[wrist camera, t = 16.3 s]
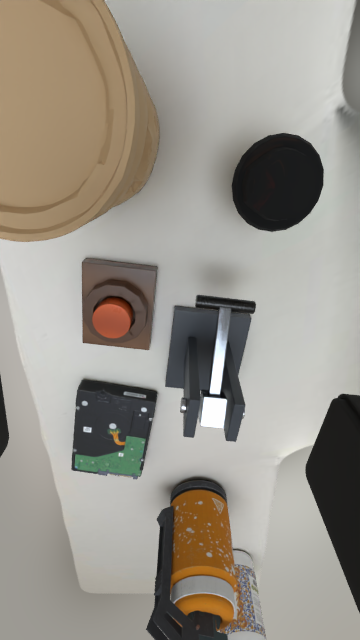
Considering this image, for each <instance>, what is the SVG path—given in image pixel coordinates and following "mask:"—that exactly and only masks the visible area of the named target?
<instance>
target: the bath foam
mask: <svg viewBox="0 0 360 640" xmlns="http://www.w3.org/2000/svg"><path fill="white" fill-rule="evenodd" d="M233 555H234V563H235V571H236V579H237V589H236V592H235V593H234V600H235V613H234V617H233V620H232V622H231V623H230V624H229V625H228V626H227V627H225V628H224V629H221V630H220V633H224V634H227V636H228V640H266V635H265V629H264V624H263V618H262V612H261V606H260V601H259V595H258V589H257V583H256V577H255V572H254V567H253V561H252V558H251V557H250V556H249V555H248V554H247V553H245V552H243V551H238V550H233Z"/></svg>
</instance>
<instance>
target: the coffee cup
mask: <svg viewBox="0 0 360 640" xmlns="http://www.w3.org/2000/svg"><path fill="white" fill-rule="evenodd" d="M323 173H324V169H323V166H322V163H321V159H320V156H319V154H318V153H317V151H316V150H315V149H314V147H313V146H312V145H311V143H309V142H308V141H306V140H304V139H303V138H301V137H300V136H298V135H292V134H287V133H280V134H275V135H269V136H267V137H265V138H263V139H261V140H260V141H258V142H256V143H254V144H253V145H252V146H251V147H250V148H249V149H248V150H247V151H246V153H245V154H244V155H243V156H242V158H241V160H240V162H239V163H238V165H237V167H236V169H235V173H234V177H233V182H232V193H233V201H234V203H235V206H236V208H237V211H238V213H239V214H240V215H241V217H242V218H243V219H244V220H245V221H246V222H247V223H248V224H250V225H252V226H253V227H255V228H257V229H259V230H265V231H271V232H273V231H279V230H286V229H288V228H290V227H292V226H294V225H296V224H298V223H299V222H301V221H302V220H303V219H304V218H305V217H306V216H307V215H308V214H310V212H311V211H312V209H313V208H314V206H315V205H316V203H317V202H318V200H319V197H320V194H321V190H322V187H323Z"/></svg>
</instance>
